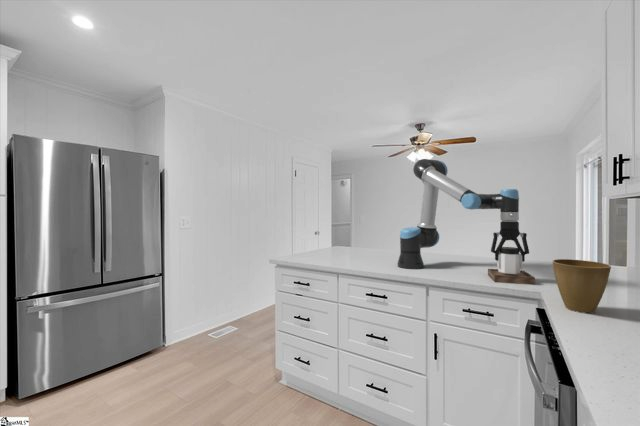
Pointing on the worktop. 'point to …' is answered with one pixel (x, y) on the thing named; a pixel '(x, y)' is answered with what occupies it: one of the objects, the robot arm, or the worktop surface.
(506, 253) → the jar
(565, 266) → the plant pot
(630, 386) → the worktop surface
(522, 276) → the wooden tray
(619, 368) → the worktop surface
